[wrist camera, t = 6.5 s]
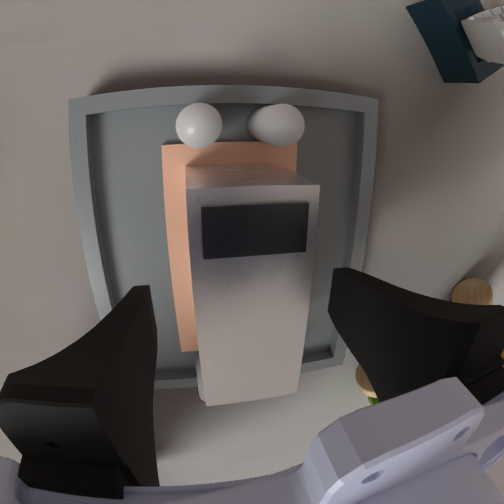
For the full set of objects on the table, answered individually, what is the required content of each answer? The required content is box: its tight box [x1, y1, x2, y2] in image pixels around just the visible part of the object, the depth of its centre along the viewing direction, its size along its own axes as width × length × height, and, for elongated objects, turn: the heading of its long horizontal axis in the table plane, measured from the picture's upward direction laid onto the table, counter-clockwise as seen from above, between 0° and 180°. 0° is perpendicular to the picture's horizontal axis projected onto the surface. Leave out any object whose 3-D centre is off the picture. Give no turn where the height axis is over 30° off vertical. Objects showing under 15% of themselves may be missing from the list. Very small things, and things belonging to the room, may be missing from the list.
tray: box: [68, 85, 379, 402], centre depth 15 cm, size 16×14×4 cm
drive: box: [185, 163, 320, 406], centre depth 13 cm, size 9×4×5 cm, turn 179°
